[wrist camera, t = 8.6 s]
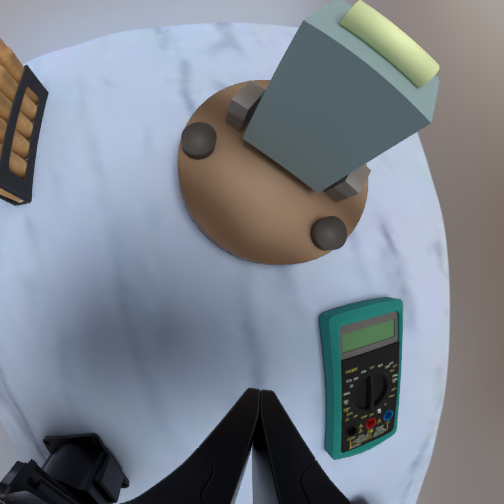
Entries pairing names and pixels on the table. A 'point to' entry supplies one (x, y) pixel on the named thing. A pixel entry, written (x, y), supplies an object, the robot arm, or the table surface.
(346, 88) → the post
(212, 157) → the levelling base
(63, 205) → the table surface
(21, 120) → the ammunition clip
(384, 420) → the digital multimeter
